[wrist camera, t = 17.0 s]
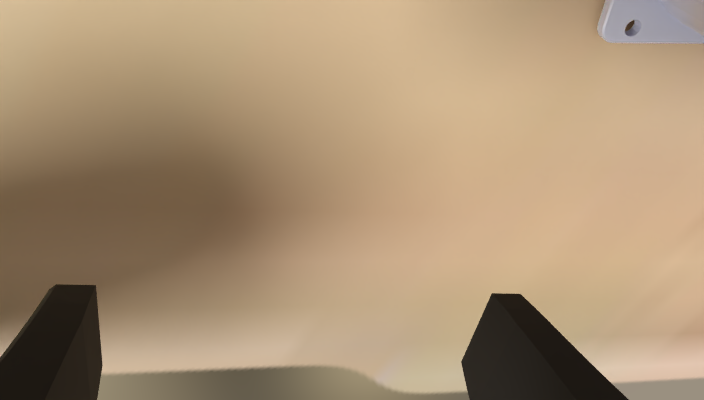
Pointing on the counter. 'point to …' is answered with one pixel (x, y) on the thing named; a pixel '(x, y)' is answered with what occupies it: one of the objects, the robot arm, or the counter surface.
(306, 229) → the counter surface
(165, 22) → the counter surface
